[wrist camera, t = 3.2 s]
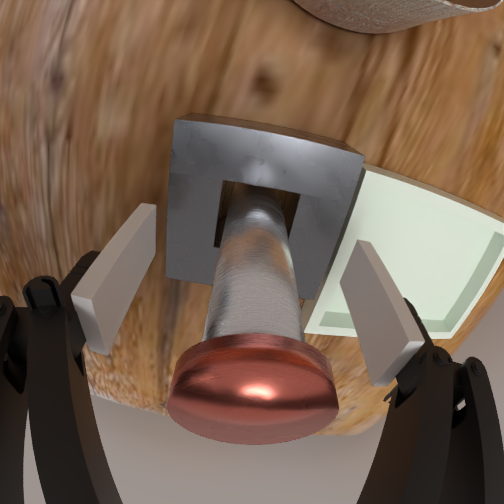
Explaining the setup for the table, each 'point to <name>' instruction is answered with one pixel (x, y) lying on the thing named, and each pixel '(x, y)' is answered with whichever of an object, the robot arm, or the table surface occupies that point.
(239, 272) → the red capped tube
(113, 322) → the robot arm
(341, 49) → the table surface
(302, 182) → the block
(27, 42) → the table surface
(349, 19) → the planter
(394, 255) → the tray
